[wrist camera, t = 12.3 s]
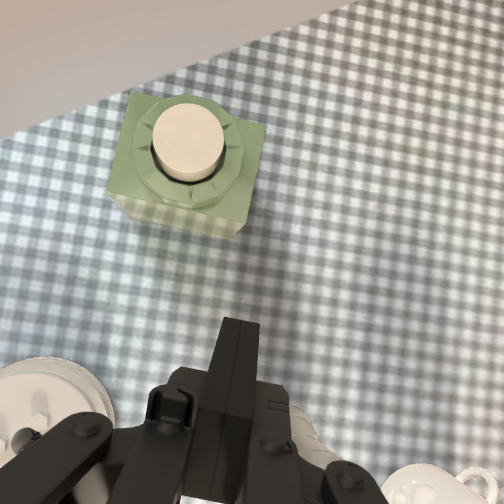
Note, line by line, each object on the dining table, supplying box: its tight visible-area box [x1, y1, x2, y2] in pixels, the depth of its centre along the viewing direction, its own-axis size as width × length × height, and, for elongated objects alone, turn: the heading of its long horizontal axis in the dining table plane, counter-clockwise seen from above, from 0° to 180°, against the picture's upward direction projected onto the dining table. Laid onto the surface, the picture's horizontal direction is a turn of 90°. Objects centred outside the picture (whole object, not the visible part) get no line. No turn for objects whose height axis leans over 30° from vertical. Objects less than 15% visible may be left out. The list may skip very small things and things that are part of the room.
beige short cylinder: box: [152, 103, 224, 182], centre depth 28 cm, size 4×4×3 cm
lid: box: [0, 357, 115, 468], centre depth 37 cm, size 13×13×5 cm
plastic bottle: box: [289, 404, 346, 470], centre depth 32 cm, size 6×7×20 cm
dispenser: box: [106, 91, 267, 240], centre depth 36 cm, size 10×8×14 cm
